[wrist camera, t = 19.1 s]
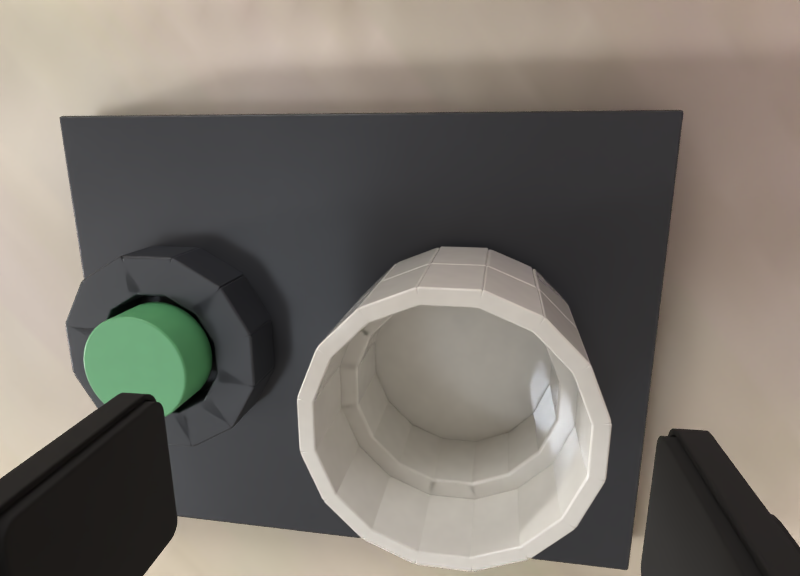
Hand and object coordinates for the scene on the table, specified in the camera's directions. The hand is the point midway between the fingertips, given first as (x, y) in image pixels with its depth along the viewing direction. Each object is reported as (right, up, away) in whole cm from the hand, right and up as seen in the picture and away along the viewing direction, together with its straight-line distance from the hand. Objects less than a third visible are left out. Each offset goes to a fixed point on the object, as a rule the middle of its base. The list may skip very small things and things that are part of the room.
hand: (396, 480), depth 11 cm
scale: (-1, +2, +8) cm, 9 cm away
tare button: (-7, +2, +7) cm, 10 cm away
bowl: (+2, +2, +7) cm, 7 cm away
